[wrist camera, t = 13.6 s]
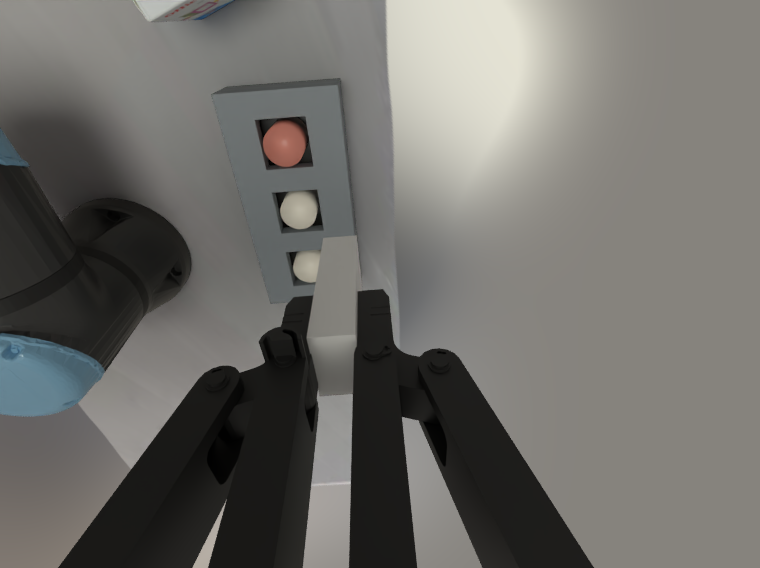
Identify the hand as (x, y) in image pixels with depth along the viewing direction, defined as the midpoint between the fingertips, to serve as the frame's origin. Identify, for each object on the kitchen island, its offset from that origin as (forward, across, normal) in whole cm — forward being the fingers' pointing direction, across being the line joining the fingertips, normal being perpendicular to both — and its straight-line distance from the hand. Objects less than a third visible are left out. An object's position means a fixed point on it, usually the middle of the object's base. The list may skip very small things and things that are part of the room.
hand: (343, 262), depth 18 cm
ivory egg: (+30, -7, -16) cm, 35 cm away
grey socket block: (+30, -7, -8) cm, 32 cm away
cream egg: (+30, -7, -8) cm, 32 cm away
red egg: (+29, -7, -1) cm, 30 cm away
